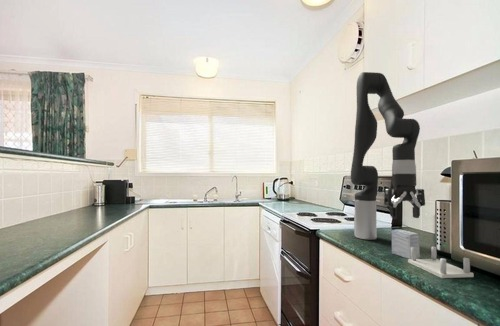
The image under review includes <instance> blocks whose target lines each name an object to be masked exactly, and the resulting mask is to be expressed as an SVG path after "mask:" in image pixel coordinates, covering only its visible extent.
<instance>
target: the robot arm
mask: <svg viewBox="0 0 500 326" xmlns="http://www.w3.org/2000/svg"><path fill="white" fill-rule="evenodd" d="M369 95H378V97H379V99H378V103H377V107H378V108H377V109H378V111H379V113H380V115H381V116H382V118H383V119H384V124H385V130H386V133H387V135H388V136H389V137H391V138H398V139H399V138H401V139H402V138H403V141H402V143H399V144H394V145H393V146H392V164H391V177H392V178H391V181H392V182H391V183H392V184H391V185H392V186H393V188H392V189H391V188H385V189H384V195H383V196H384V200H383V201H384V203H383V205H384V206H387V207H389V216H390V217H391V218H392V219H397V218H398V210H397V209H398V208H397V206H398V204H400V203H401V202H409V203H410V204H411V205H412V218H414V219H419V218H420V216H421V209H420V208H421V207H422V206H426V198H425V197H426V196H425V189H424V188H417V189H416V186H417V164H416V156H415V155H416V153H415V152H416V151H415V149H416V145H417V142H418V139H419V136H420V131H421V127H420V123H419V121H418V120H417V119H415V118H404V116H405V112H404V109H403V108H402V106H400V104H399V102H398V101H397V100H396V98H395V97H394V95H393V92H392V89H391V87H390V84H389V82H388V80H387V78H386V76H385V75H384V73H381V72H365V71H364V72H361V73H360V74H359V75H358V77H357V80H356V115H355V116H356V117H355V125H354V146H353V153H352V154H353V155H352V160H351V161H352V162H351V169H350V181H351V183H352V185H354V186H364V189H362V190H361V191H358V192H356V193H355V194H354V216H353V219H354V220H353V224H354V225H353V228H354V229H353V233H354V234H353V235H354V237H356V238H358V239H362V240H377V238H378V237H377V236H378V235H377V196H378V187H379V186H378V185H379V183H378V182H379V180H378V179H379V173H378V170H377V169H378V168H376V167H375V166H373V165H363V164H364V160H365V157H366V154H367V152H368V151H369V150H370V149H371V147H372V146H373V144H374V143H375V141H376V140H377V134H378V121H377V118H376V116H375V115H374V113H373V111H372V109H371V106H370V104H369V97H368V96H369Z"/></svg>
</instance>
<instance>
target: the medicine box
mask: <svg viewBox="0 0 500 326" xmlns="http://www.w3.org/2000/svg"><path fill="white" fill-rule="evenodd" d="M411 247H415V248H416V259H421V258H420V256H421V255H420V254H421V253H420V235H419V233H418V232H417V233H416V232H412V231H409V230H405V229H401V228H400V229H392V230H391V254H394V255H397V256H399V257H403V258H404V259H407V260H408V259H411Z"/></svg>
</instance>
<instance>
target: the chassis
mask: <svg viewBox="0 0 500 326" xmlns="http://www.w3.org/2000/svg"><path fill="white" fill-rule="evenodd" d="M430 247H431V248H430V251H431V253H430V256H431V258H419V259H416V248H415V247H411V259H407V263H409V264H410V265H413V266H415V267H418V268H419V269H422V270H424V271H426V272H427V273H430V274H432V275H434V276H437V277H438V278H440V279H449V278H450V279H454V278H456V279H457V278H458V279H460V278H474V272H471V262H470V261H471V260H470V258H468V257H463V258H462V261H463V264H462V265H463V269H462V268H460V267H458V266H455V265H453V264H451V263H448V262H447V259H446V258H444V257H443V258H437V247H436V246H430Z"/></svg>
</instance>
